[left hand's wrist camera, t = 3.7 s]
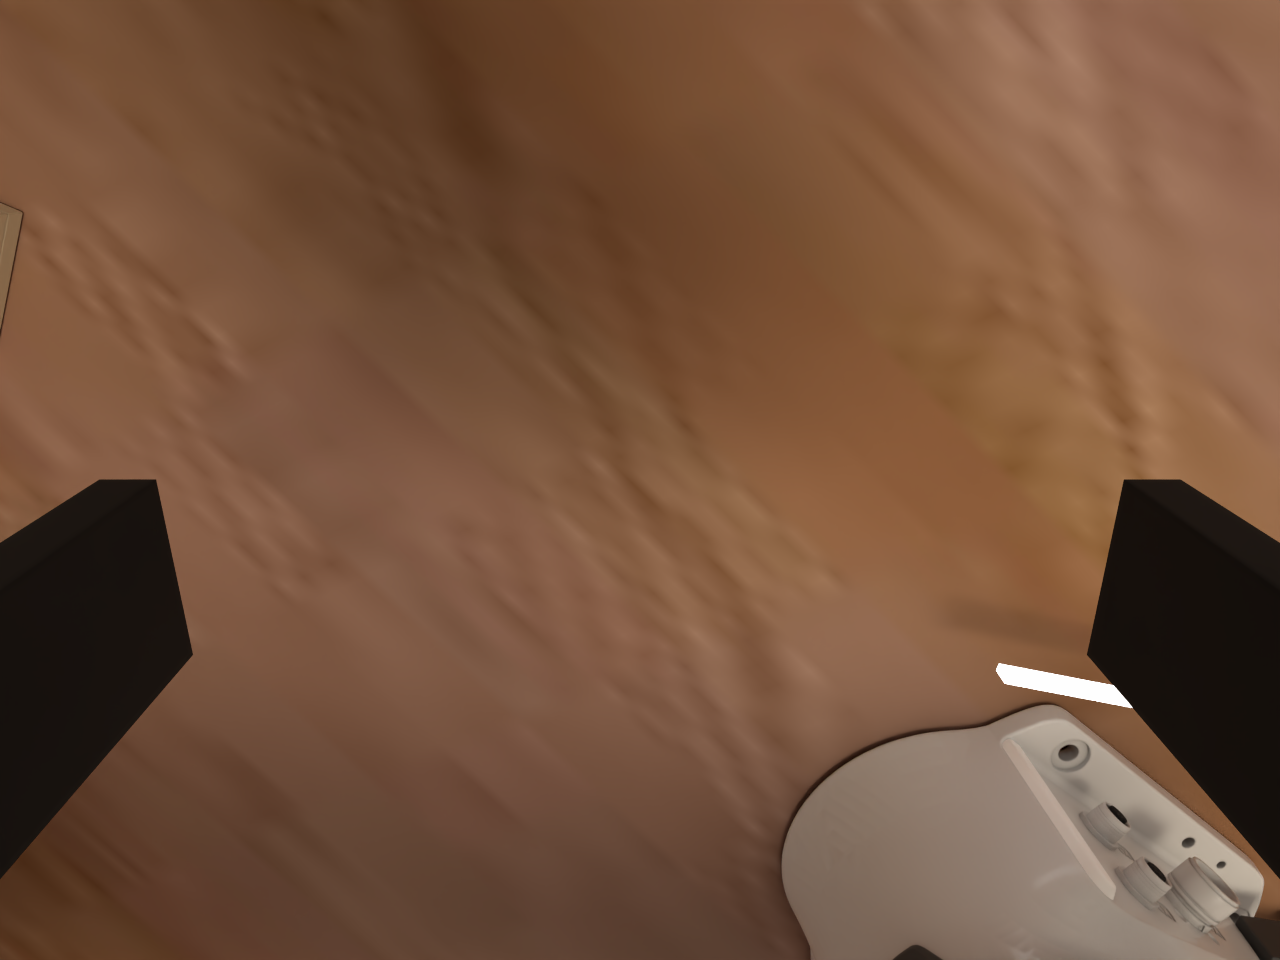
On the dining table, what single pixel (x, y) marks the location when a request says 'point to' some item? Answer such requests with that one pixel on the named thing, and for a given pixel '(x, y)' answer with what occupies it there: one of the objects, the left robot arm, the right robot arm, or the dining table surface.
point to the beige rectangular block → (7, 248)
